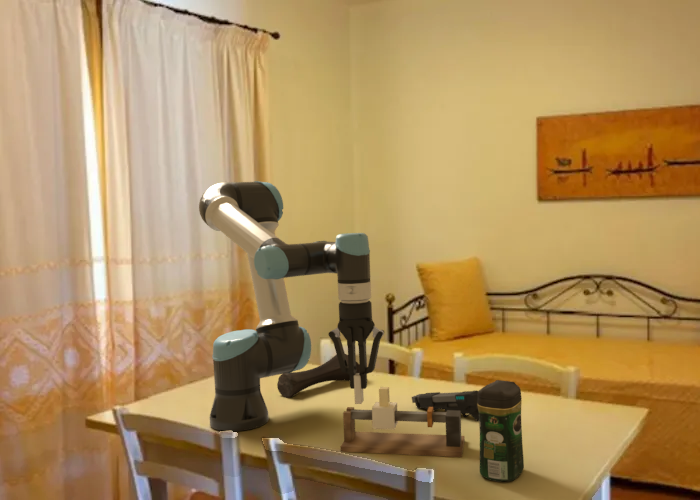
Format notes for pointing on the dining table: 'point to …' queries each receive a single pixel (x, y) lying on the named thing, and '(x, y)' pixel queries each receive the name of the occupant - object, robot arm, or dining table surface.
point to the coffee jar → (500, 431)
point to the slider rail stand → (405, 442)
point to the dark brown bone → (312, 377)
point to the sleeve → (384, 411)
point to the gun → (450, 402)
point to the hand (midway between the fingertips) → (359, 402)
